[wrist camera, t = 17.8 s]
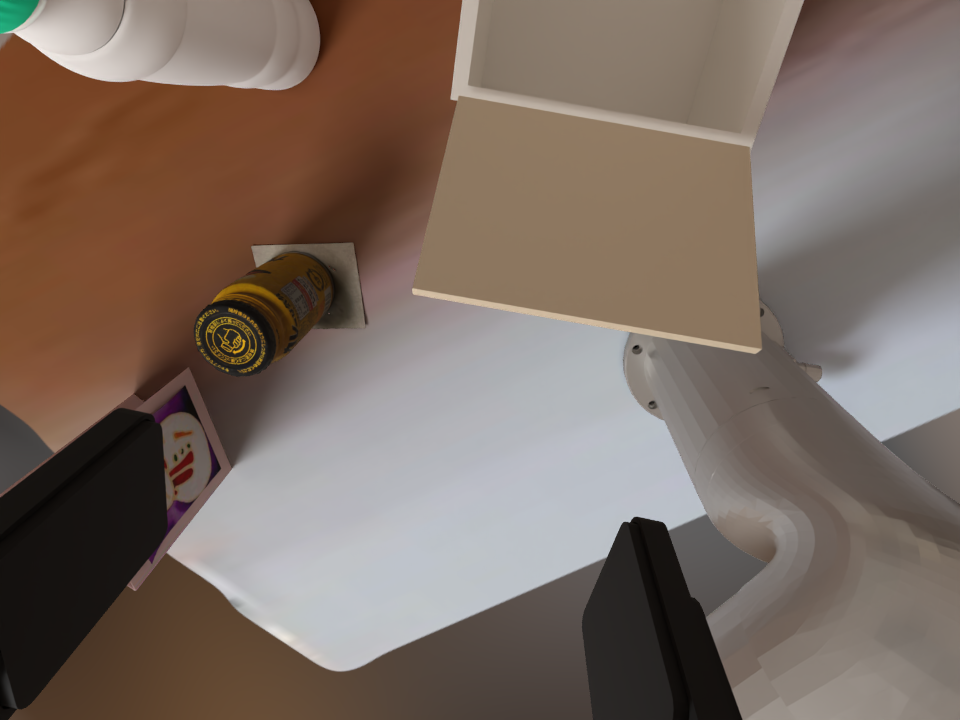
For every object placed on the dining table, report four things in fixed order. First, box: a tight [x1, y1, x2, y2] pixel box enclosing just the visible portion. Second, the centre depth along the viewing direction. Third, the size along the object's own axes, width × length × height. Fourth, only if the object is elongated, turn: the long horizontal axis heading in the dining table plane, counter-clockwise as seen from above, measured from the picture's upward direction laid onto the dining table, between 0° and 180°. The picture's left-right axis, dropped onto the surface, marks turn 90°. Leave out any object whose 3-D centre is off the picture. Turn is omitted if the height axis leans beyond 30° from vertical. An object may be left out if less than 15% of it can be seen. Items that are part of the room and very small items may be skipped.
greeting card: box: [0, 367, 232, 591], centre depth 45 cm, size 11×7×15 cm, turn 9°
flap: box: [412, 96, 762, 354], centre depth 25 cm, size 15×12×1 cm
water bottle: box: [0, 0, 320, 90], centre depth 26 cm, size 7×7×25 cm
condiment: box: [194, 243, 365, 377], centre depth 40 cm, size 7×8×12 cm
